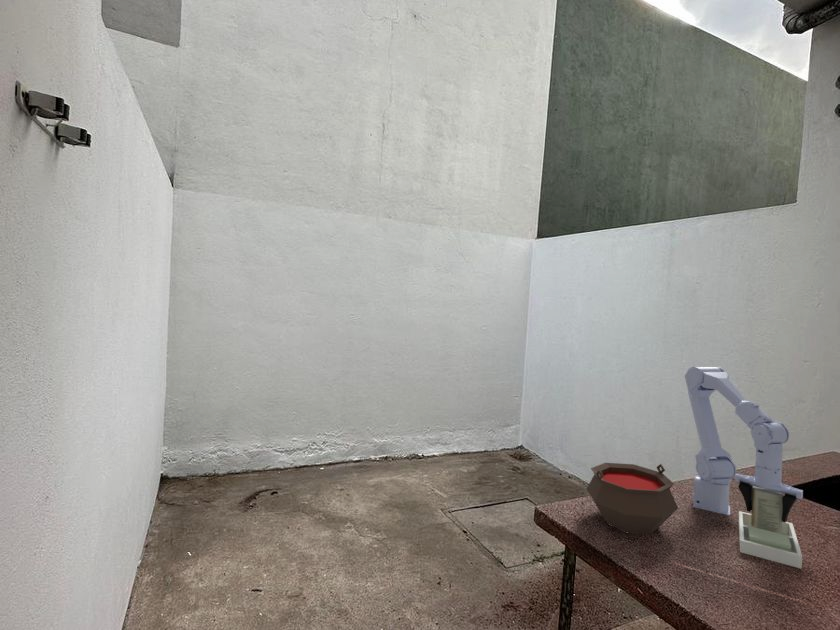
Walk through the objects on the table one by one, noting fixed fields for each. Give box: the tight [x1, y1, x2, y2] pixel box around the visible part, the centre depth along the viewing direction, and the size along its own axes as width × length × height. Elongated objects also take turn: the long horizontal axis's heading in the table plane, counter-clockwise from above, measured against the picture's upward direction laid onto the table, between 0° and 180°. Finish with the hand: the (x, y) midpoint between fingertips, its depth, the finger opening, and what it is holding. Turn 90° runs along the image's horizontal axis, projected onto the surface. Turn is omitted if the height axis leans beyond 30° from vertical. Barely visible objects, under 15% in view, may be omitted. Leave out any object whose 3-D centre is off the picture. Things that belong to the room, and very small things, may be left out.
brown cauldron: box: [586, 462, 679, 536], centre depth 129 cm, size 24×24×16 cm
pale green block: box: [749, 526, 791, 552], centre depth 114 cm, size 8×6×4 cm
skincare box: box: [750, 486, 784, 534], centre depth 122 cm, size 6×4×12 cm
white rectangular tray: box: [738, 510, 803, 570], centre depth 118 cm, size 12×20×4 cm, turn 145°
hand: (766, 515), depth 122 cm, fingers open, 7 cm apart
